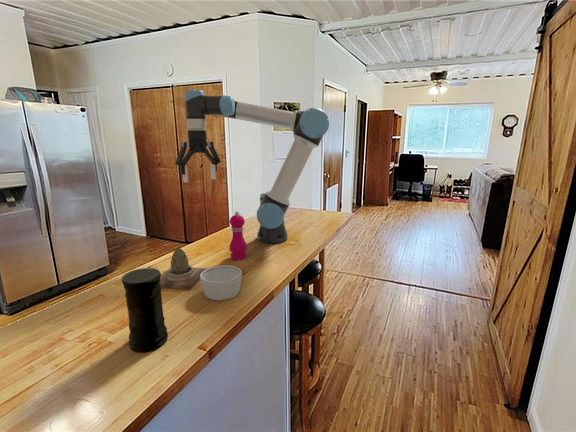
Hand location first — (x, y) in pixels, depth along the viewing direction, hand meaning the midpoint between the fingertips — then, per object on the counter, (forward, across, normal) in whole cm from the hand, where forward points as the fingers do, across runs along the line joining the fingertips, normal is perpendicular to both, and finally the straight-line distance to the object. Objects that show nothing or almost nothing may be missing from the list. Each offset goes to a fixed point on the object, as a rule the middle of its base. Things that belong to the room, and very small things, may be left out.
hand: (200, 180), depth 136 cm
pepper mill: (+31, -4, +21) cm, 37 cm away
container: (+31, +46, +49) cm, 74 cm away
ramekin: (+31, +19, +41) cm, 55 cm away
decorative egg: (+29, +23, +22) cm, 44 cm away
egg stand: (+31, +23, +22) cm, 45 cm away
